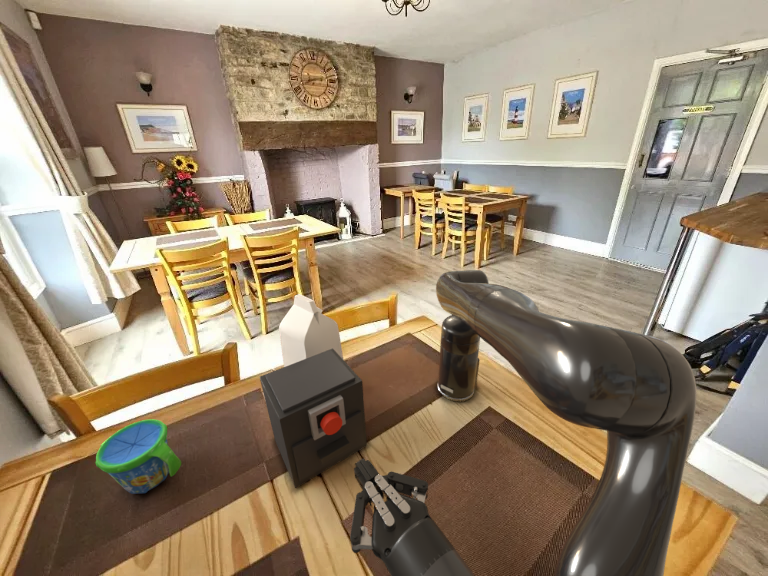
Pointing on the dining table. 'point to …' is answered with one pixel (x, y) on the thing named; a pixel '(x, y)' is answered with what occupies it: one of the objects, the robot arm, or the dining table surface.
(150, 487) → the snack cup
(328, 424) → the power button
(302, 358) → the milk
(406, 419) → the dining table surface
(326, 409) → the dark grey button box
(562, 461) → the dining table surface
